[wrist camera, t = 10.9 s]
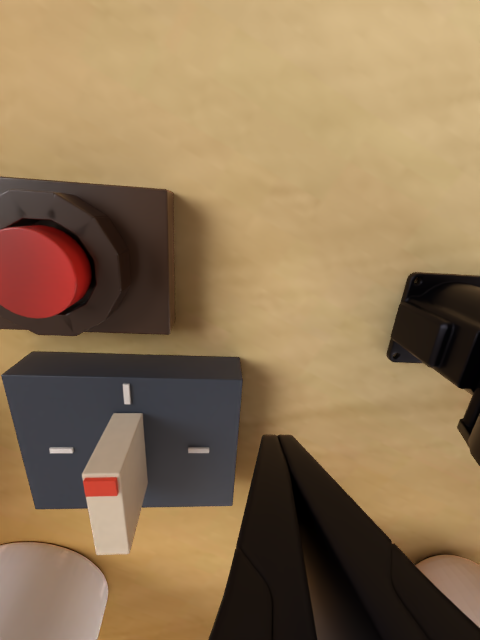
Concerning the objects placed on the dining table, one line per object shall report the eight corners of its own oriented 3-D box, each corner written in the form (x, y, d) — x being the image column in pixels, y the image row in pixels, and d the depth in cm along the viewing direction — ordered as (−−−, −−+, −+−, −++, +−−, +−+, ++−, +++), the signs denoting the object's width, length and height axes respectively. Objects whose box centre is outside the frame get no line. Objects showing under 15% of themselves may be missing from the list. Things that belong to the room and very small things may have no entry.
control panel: (239, 356, 21) (243, 381, 18) (230, 472, 24) (232, 508, 22) (32, 351, 19) (-2, 376, 16) (57, 473, 23) (33, 511, 20)
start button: (87, 228, 14) (69, 230, 12) (96, 308, 15) (81, 320, 13) (-4, 222, 13) (-36, 223, 12) (14, 305, 15) (-12, 317, 13)
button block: (173, 192, 17) (160, 186, 13) (175, 322, 19) (164, 348, 16) (-34, 175, 16) (-113, 165, 12) (-1, 315, 18) (-56, 342, 15)
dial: (148, 483, 20) (128, 559, 16) (121, 483, 20) (94, 560, 16) (142, 412, 18) (118, 478, 14) (113, 412, 18) (78, 478, 14)
